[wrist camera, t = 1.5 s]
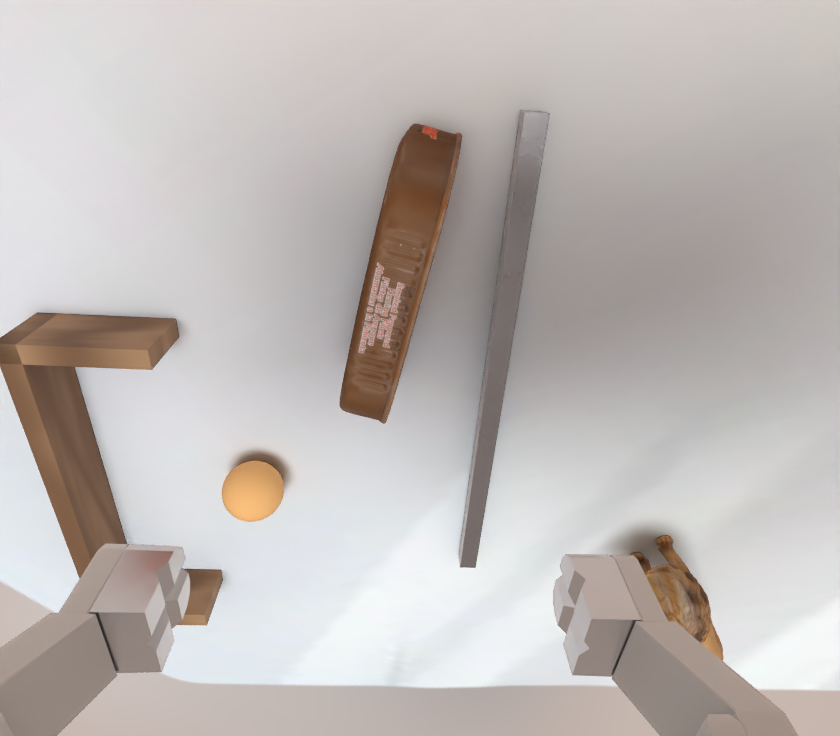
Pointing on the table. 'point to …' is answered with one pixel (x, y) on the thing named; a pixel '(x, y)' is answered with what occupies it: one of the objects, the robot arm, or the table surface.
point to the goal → (84, 423)
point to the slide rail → (503, 321)
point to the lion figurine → (681, 596)
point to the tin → (398, 268)
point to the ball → (252, 491)
